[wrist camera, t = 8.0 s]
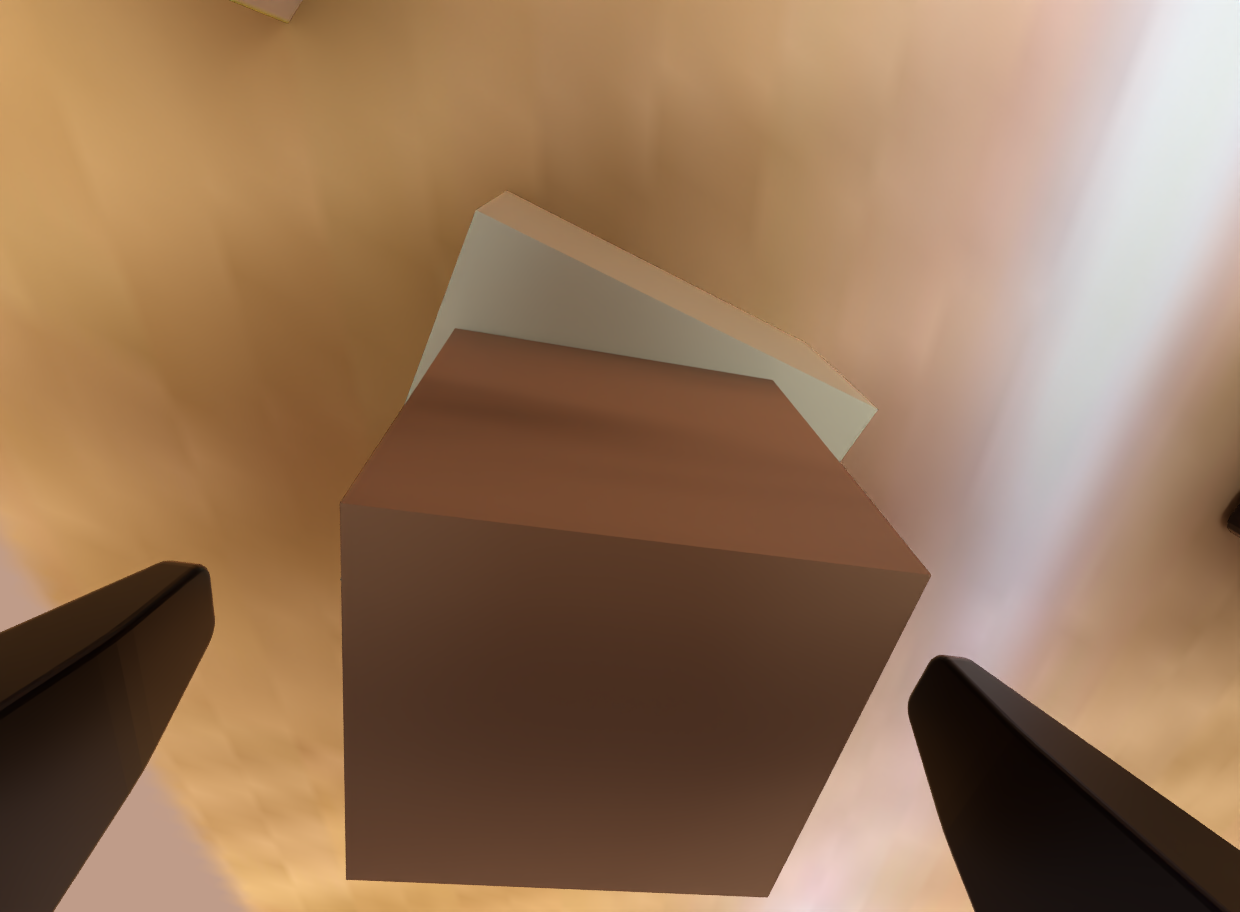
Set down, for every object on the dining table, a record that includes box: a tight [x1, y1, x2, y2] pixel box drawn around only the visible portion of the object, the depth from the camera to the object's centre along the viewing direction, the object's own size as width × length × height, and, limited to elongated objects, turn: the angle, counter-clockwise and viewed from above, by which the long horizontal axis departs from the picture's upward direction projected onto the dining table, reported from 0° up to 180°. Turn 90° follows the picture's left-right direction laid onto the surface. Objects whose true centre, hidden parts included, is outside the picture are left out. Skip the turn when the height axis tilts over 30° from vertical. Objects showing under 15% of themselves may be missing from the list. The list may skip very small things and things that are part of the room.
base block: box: [340, 190, 878, 580], centre depth 13 cm, size 7×7×4 cm
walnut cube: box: [340, 328, 931, 897], centre depth 8 cm, size 5×5×5 cm
